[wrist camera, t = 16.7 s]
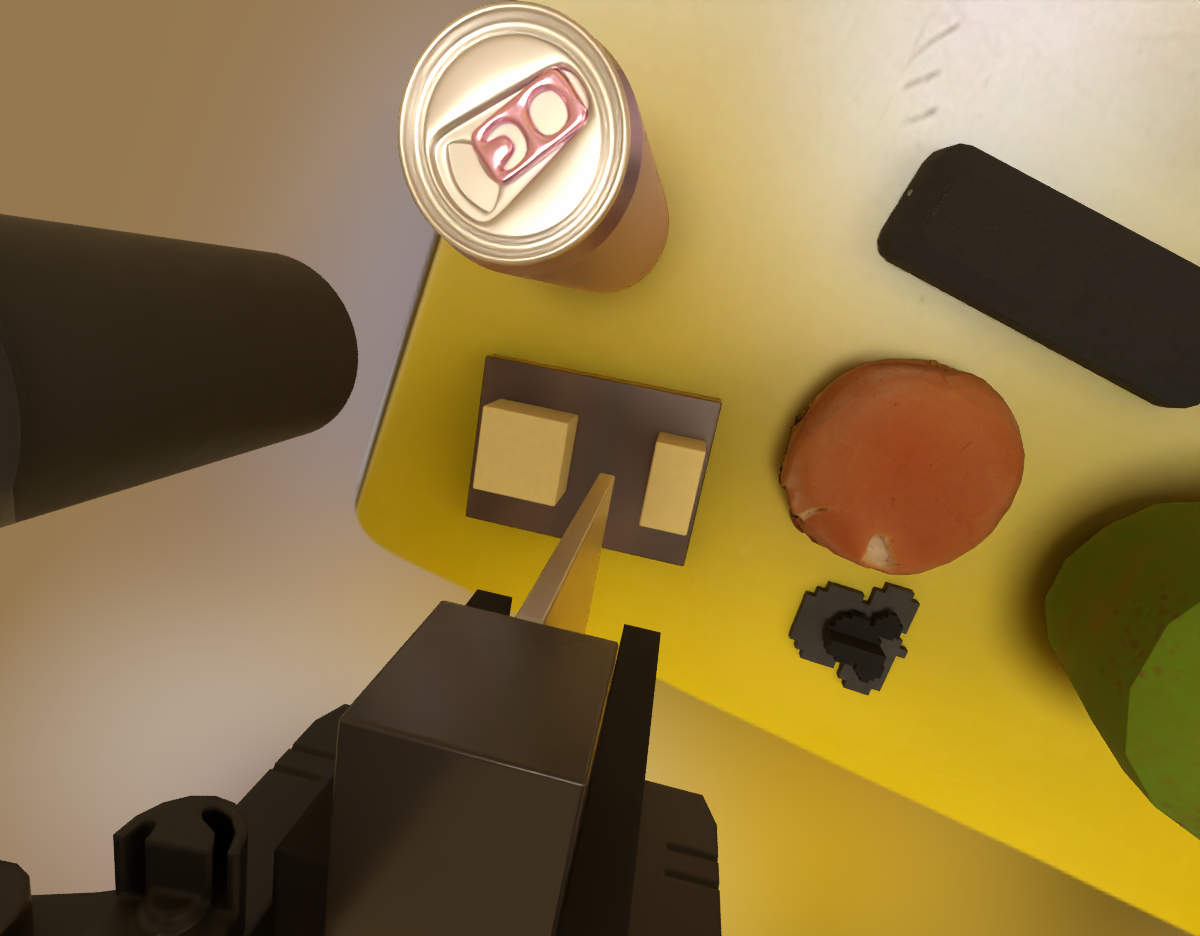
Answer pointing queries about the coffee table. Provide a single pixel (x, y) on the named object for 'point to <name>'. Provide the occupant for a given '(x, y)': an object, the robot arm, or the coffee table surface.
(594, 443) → the board
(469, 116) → the beverage can
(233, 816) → the robot arm
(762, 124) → the coffee table surface
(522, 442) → the butter block
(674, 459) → the block
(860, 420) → the burger
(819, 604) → the block figure
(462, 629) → the dark handled dough scraper
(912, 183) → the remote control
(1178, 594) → the apple
